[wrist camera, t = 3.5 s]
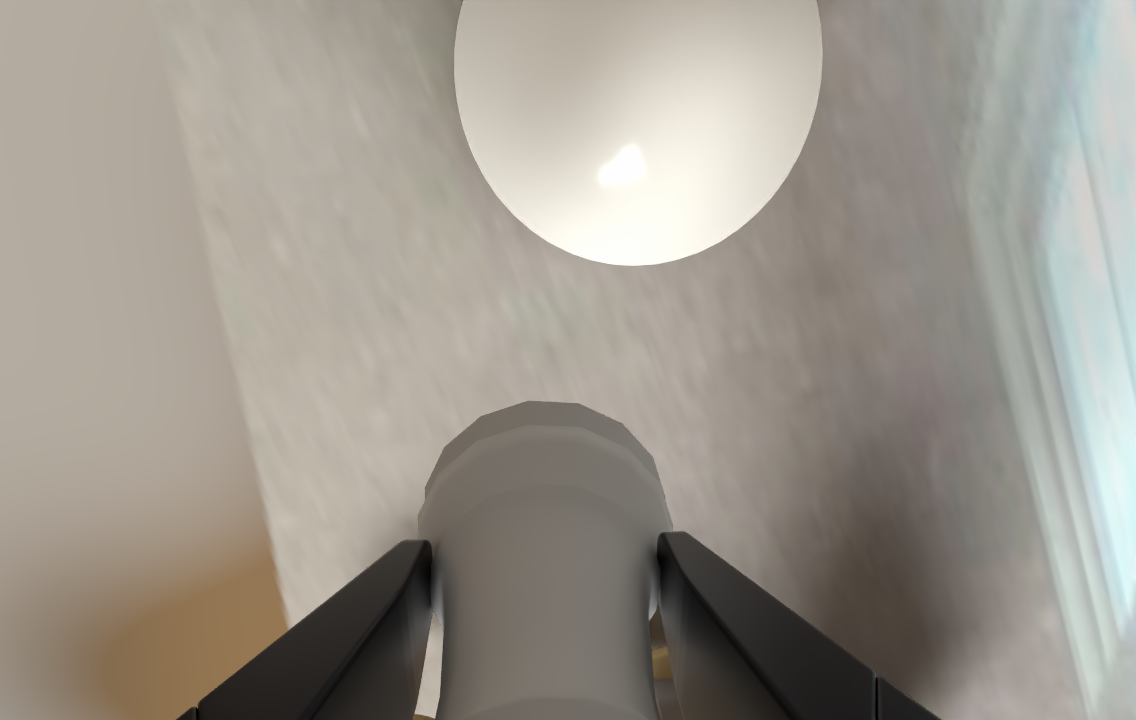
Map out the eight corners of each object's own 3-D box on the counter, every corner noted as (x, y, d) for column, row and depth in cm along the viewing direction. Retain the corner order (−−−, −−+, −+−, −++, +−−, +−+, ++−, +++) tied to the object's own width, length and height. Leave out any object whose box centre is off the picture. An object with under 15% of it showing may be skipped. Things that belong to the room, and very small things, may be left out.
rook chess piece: (407, 572, 10) (41, 1568, 3) (455, 363, 9) (60, 1075, 2) (621, 614, 11) (804, 1553, 3) (691, 422, 10) (1214, 1172, 2)
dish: (828, -121, 15) (847, -143, 14) (786, 261, 18) (799, 264, 17) (447, -131, 15) (441, -154, 14) (469, 264, 18) (464, 266, 17)
